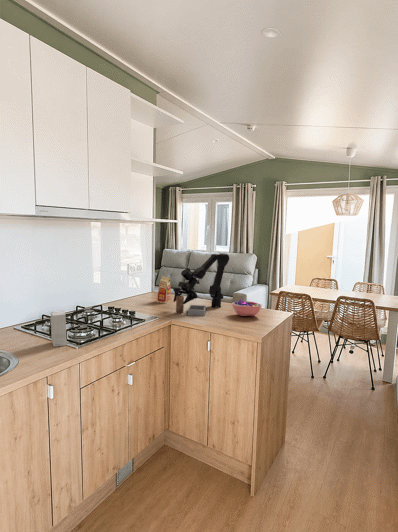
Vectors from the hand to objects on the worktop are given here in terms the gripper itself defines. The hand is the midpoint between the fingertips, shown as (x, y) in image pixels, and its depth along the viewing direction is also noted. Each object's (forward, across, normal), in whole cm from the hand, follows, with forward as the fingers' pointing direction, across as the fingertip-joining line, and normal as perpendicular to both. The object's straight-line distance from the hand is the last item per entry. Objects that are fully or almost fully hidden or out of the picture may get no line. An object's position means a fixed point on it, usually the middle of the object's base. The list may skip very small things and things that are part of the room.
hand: (178, 302), depth 227 cm
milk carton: (-7, -32, +17) cm, 37 cm away
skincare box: (+66, +6, -55) cm, 86 cm away
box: (-2, +8, +12) cm, 14 cm away
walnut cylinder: (+4, 0, +6) cm, 7 cm away
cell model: (-15, +35, +25) cm, 46 cm away
